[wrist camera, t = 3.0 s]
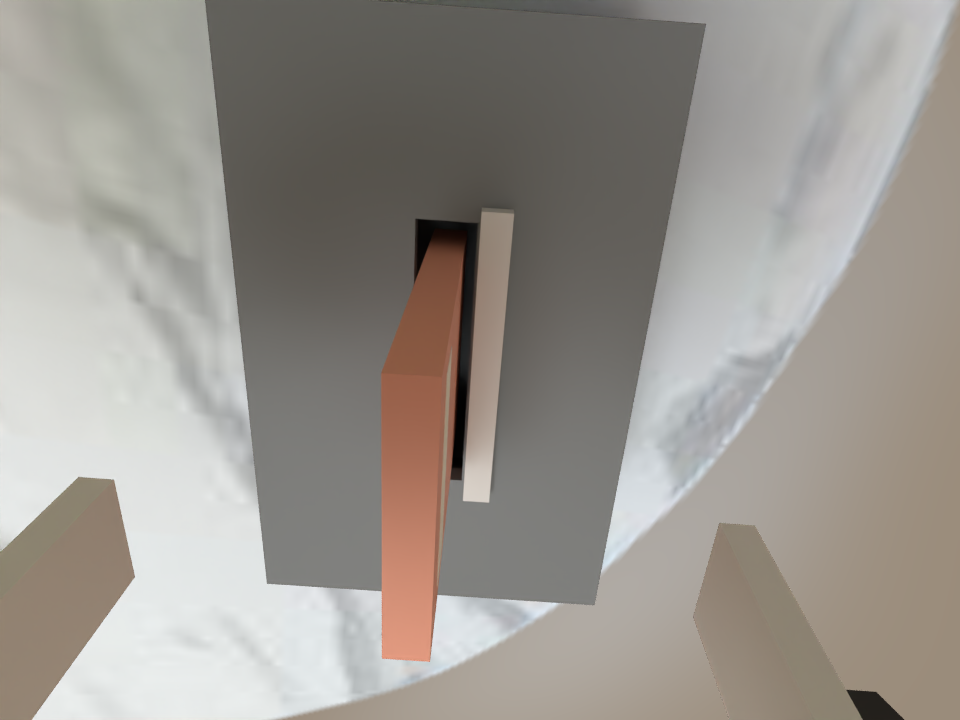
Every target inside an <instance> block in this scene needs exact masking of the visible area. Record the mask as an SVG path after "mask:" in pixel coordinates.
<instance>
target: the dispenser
mask: <svg viewBox="0 0 960 720" xmlns="http://www.w3.org/2000/svg"><path fill="white" fill-rule="evenodd" d="M205 3H206V13H207V22H208V31H209V41H210V50H211V60H212V69H213V79H214V88H215V97H216V107H217V116H218V126H219V135H220V145H221V154H222V163H223V173H224V182H225V192H226V201H227V211H228V220H229V229H230V239H231V248H232V258H233V267H234V277H235V286H236V295H237V305H238V314H239V324H240V333H241V343H242V352H243V361H244V371H245V380H246V390H247V399H248V409H249V418H250V427H251V437H252V446H253V456H254V465H255V475H256V484H257V493H258V503H259V512H260V522H261V531H262V541H263V550H264V559H265V569H266V578H267V584H281V585H296V586H311V587H327V588H342V589H357V590H372V591H382V480H381V372H382V369H383V367H384V364H385V361H386V359H387V356H388V353H389V351H390V348H391V345H392V343H393V340H394V337H395V335H396V332H397V329H398V326H399V324H400V321H401V318H402V316H403V313H404V310H405V308H406V305H407V302H408V300H409V297H410V294H411V292H412V289H413V286H414V284H415V281H416V278H417V275H418V273H419V270H420V267H421V265H422V262H423V259H424V257H425V254H426V251H427V249H428V246H429V243H430V241H431V238H432V235H433V233H434V230H435V228H437V229H451V230H465V231H467V249H466V267H465V284H464V302H463V320H462V338H461V356H460V373H459V391H458V409H457V422H456V431H455V440H454V449H453V458H452V467H451V476H450V485H449V494H448V503H447V512H446V521H445V530H444V539H443V548H442V557H441V566H440V575H439V584H438V593H437V595H448V596H463V597H478V598H493V599H508V600H524V601H539V602H554V603H569V604H570V603H571V604H584V605H594V604H595V600H596V595H597V589H598V584H599V579H600V574H601V569H602V563H603V558H604V553H605V548H606V542H607V537H608V532H609V527H610V522H611V516H612V511H613V506H614V501H615V496H616V490H617V485H618V480H619V475H620V470H621V464H622V459H623V454H624V449H625V443H626V438H627V433H628V428H629V423H630V417H631V412H632V407H633V402H634V397H635V391H636V386H637V381H638V376H639V370H640V365H641V360H642V355H643V350H644V344H645V339H646V334H647V329H648V324H649V318H650V313H651V308H652V303H653V298H654V292H655V287H656V282H657V277H658V271H659V266H660V261H661V256H662V251H663V245H664V240H665V235H666V230H667V225H668V219H669V214H670V209H671V204H672V199H673V193H674V188H675V183H676V178H677V172H678V167H679V162H680V157H681V152H682V146H683V141H684V136H685V131H686V126H687V120H688V115H689V110H690V105H691V99H692V94H693V89H694V84H695V79H696V73H697V68H698V63H699V58H700V53H701V47H702V42H703V37H704V32H705V27H706V24H700V23H686V22H672V21H658V20H644V19H630V18H616V17H602V16H588V15H574V14H560V13H546V12H532V11H519V10H505V9H491V8H477V7H463V6H449V5H435V4H421V3H407V2H393V1H379V0H205Z"/></svg>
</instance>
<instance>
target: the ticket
mask: <svg viewBox="0 0 960 720" xmlns="http://www.w3.org/2000/svg"><path fill="white" fill-rule="evenodd" d="M466 249H467V231H465V230H451V229H437V228H435V230H434V233H433V235H432V238H431V241H430V243H429V246H428V249H427V251H426V254H425V257H424V259H423V262H422V265H421V267H420V270H419V273H418V275H417V278H416V281H415V284H414V286H413V289H412V292H411V294H410V297H409V300H408V302H407V305H406V308H405V310H404V313H403V316H402V318H401V321H400V324H399V326H398V329H397V332H396V335H395V337H394V340H393V343H392V345H391V348H390V351H389V353H388V356H387V359H386V361H385V364H384V367H383V369H382V372H381V480H382V659H397V660H412V661H428V662H430V656H431V647H432V638H433V629H434V620H435V611H436V602H437V593H438V584H439V575H440V566H441V557H442V548H443V539H444V530H445V521H446V512H447V503H448V494H449V485H450V476H451V467H452V458H453V449H454V440H455V431H456V422H457V409H458V391H459V373H460V356H461V338H462V320H463V302H464V284H465V267H466Z"/></svg>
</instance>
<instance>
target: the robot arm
mask: <svg viewBox="0 0 960 720" xmlns="http://www.w3.org/2000/svg"><path fill="white" fill-rule="evenodd" d="M134 577H135V575H134V570H133V566H132V561H131V557H130V552H129V547H128V543H127V538H126V533H125V529H124V524H123V520H122V515H121V510H120V506H119V501H118V497H117V492H116V487H115V483H114V480H111V479H97V478H83V477H78V478H77V479H76V480H75V481H74V482H73V483H72V484H71V485H70V486H69V487H68V488H67V489H66V490H65V491H64V492H63V493H62V494H61V495H60V496H58V497H57V498H56V499H55V500H54V501H53V502H52V503H51V504H50V505H49V506H48V507H47V508H46V509H45V510H44V511H43V512H42V513H41V514H40V515H39V516H38V517H37V518H36V519H35V520H34V521H33V522H31V523H30V524H29V525H28V526H27V527H26V528H25V529H24V530H23V531H22V532H21V533H20V534H19V535H18V536H17V537H16V538H15V539H14V540H13V541H12V542H11V543H10V544H9V545H8V546H7V547H6V548H5V549H3V550H2V551H1V552H0V720H32V718H33V717H34V716H35V714H36V713H37V712H38V710H39V709H40V707H41V706H42V705H43V703H44V702H45V700H46V699H47V698H48V696H49V695H50V694H51V692H52V691H53V689H54V688H55V687H56V685H57V684H58V682H59V681H60V680H61V678H62V677H63V676H64V674H65V673H66V671H67V670H68V669H69V667H70V666H71V664H72V663H73V662H74V660H75V659H76V658H77V656H78V655H79V653H80V652H81V651H82V649H83V648H84V646H85V645H86V644H87V642H88V641H89V640H90V638H91V637H92V635H93V634H94V633H95V631H96V630H97V629H98V627H99V626H100V624H101V623H102V622H103V620H104V619H105V617H106V616H107V615H108V613H109V612H110V611H111V609H112V608H113V606H114V605H115V604H116V602H117V601H118V599H119V598H120V597H121V595H122V594H123V593H124V591H125V590H126V588H127V587H128V586H129V584H130V583H131V581H132V580H133V579H134ZM693 618H694V621H695V624H696V627H697V629H698V632H699V635H700V638H701V641H702V644H703V646H704V649H705V652H706V655H707V658H708V660H709V664H710V666H711V669H712V672H713V675H714V678H715V680H716V684H717V686H718V689H719V692H720V695H721V698H722V701H723V704H724V706H725V709H726V712H727V715H728V718H729V720H904V719H903V718H902V717H901V716H900V715H899V714H898V713H897V712H896V711H895V710H894V709H893V708H892V707H891V706H890V705H889V704H888V703H887V702H886V701H885V700H884V699H883V698H882V697H881V696H880V695H879V694H877V692H869V691H855V690H846V689H845V687H844V685H843V683H842V682H841V680H840V678H839V676H838V674H837V673H836V671H835V669H834V667H833V665H832V664H831V662H830V660H829V658H828V656H827V655H826V653H825V651H824V649H823V647H822V646H821V644H820V642H819V640H818V639H817V637H816V635H815V633H814V631H813V629H812V628H811V626H810V624H809V622H808V620H807V619H806V617H805V615H804V613H803V611H802V610H801V608H800V606H799V604H798V603H797V601H796V599H795V597H794V595H793V594H792V592H791V590H790V588H789V586H788V585H787V583H786V581H785V579H784V577H783V576H782V574H781V572H780V570H779V568H778V567H777V565H776V563H775V561H774V559H773V558H772V556H771V554H770V552H769V551H768V549H767V547H766V545H765V543H764V541H763V540H762V538H761V536H760V534H759V532H758V531H757V529H756V527H755V526H752V525H740V524H726V523H719V526H718V530H717V533H716V537H715V541H714V544H713V547H712V551H711V555H710V559H709V562H708V566H707V569H706V572H705V576H704V580H703V583H702V587H701V590H700V595H699V598H698V601H697V605H696V609H695V612H694V616H693Z"/></svg>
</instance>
